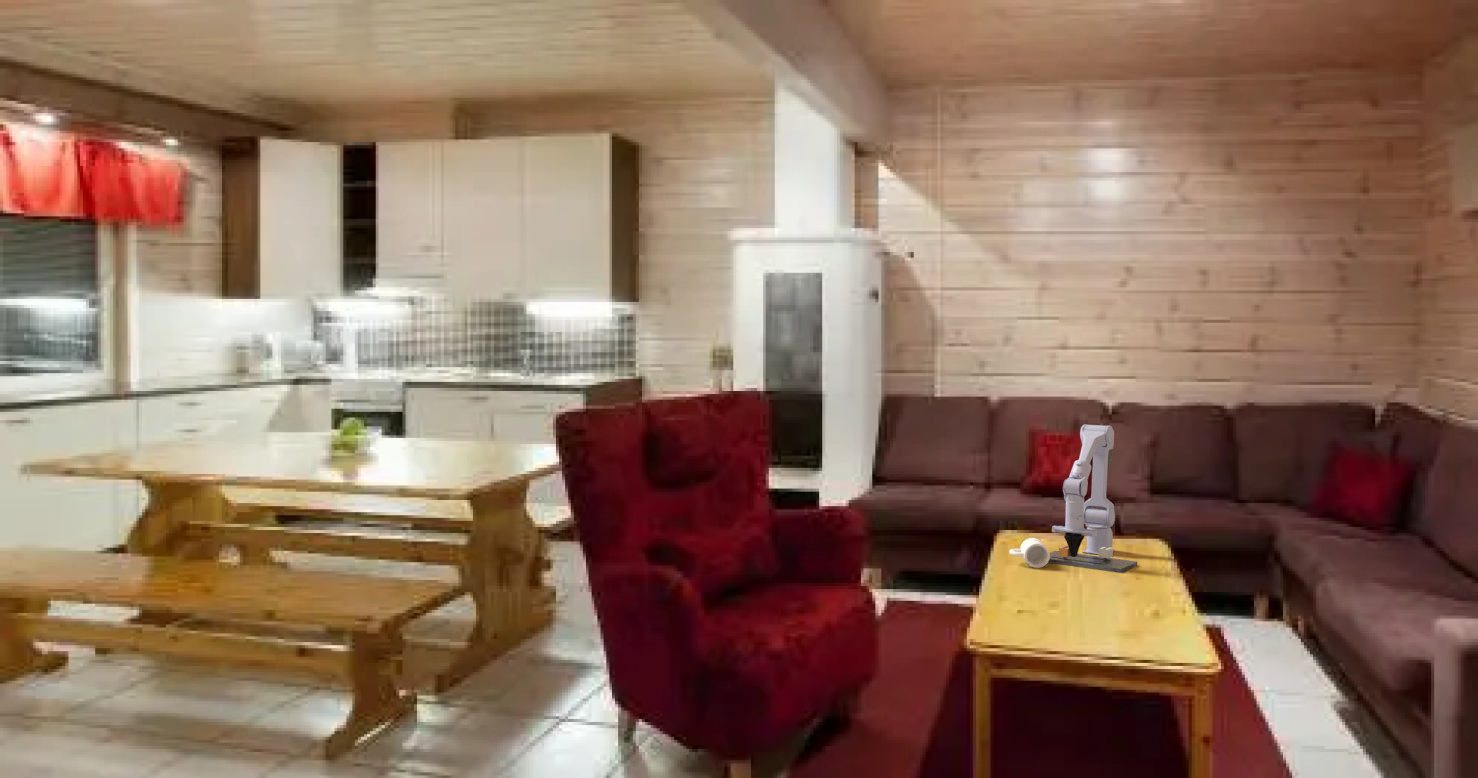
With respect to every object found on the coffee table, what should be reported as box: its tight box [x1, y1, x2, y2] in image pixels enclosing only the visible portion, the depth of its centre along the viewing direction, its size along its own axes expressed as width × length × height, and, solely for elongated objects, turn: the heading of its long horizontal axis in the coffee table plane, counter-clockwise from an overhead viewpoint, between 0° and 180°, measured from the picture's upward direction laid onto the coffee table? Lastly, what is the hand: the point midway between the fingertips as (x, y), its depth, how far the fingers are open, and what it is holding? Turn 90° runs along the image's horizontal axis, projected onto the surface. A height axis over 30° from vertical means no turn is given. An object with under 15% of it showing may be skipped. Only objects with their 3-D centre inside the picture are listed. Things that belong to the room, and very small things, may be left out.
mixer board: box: [1047, 550, 1138, 574], centre depth 372 cm, size 14×28×1 cm, turn 51°
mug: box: [1008, 537, 1051, 569], centre depth 370 cm, size 12×10×8 cm
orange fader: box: [1058, 545, 1071, 558], centre depth 373 cm, size 4×3×4 cm
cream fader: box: [1098, 547, 1114, 559], centre depth 372 cm, size 4×3×4 cm
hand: (1074, 556), depth 371 cm, fingers closed
